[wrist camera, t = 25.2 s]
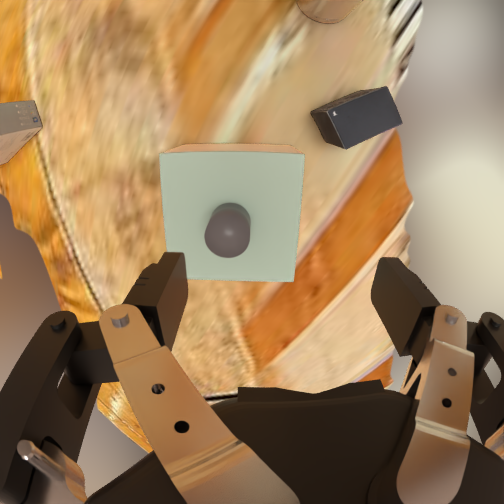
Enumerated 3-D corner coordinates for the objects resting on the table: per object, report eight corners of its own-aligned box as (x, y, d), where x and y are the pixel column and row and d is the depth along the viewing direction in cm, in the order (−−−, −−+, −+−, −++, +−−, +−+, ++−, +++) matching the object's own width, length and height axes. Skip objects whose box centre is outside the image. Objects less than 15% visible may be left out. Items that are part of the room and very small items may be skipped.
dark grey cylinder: (211, 201, 35) (204, 214, 31) (252, 204, 35) (251, 218, 31) (210, 238, 37) (204, 256, 33) (249, 241, 38) (248, 259, 33)
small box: (326, 145, 44) (345, 152, 35) (308, 111, 42) (324, 109, 32) (376, 122, 42) (405, 125, 32) (360, 89, 39) (387, 83, 30)
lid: (161, 152, 33) (159, 153, 32) (303, 153, 33) (304, 154, 32) (172, 274, 41) (170, 278, 40) (292, 278, 41) (293, 281, 40)
